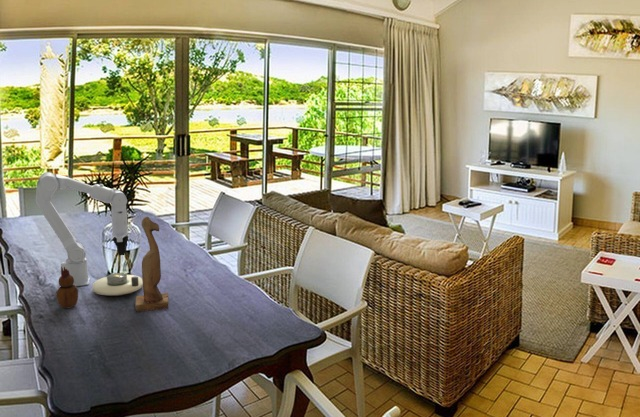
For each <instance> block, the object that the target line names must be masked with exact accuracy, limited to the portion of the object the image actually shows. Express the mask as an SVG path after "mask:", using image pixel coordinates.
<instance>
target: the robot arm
mask: <svg viewBox="0 0 640 417" xmlns="http://www.w3.org/2000/svg"><path fill="white" fill-rule="evenodd" d="M58 188H59V190H60V191H62V190H65V189H71V190H75V191H79V192H82V193H85V194H88V195H90V198H91V199H93V200H96V201H100V202H103V203H106V204H111V205H110V206H111V210H110V213H111V215H110V216H111V227H112V229H111V230H112V233H111V234H112V236H113V237H112V241H113V243H114V244H115V247H116V250H117V254H118V256H125V254H126V247H127V246H126V245H127V244H128V241H129V235H131V234H132V231H130V230H129V229H128V228H129V226H128V211H127V204H128V199H127V196H126V194H125V193H124V192H123V191H121V190H119V189H116V188H110V187H108V186H107V187H106V186H104V184H103V183H99V184H98V183H95V184H93V185H90V184H88V183H85V182H82V181H79V180H77V179H74V178H72V177H69V176H65V175H61V174H59V173H53V172H51V171H50V172H49V171H47V172H44V173H42V174H41V175H40V176H39V178H38V180H37V183H36V192H35V194H36V195H35V203H36V206H37V207H38V209H39V210H40V212H41V214H42V215H43V216H44V218H45V219H46V221H47V222H48V225H50V226H51V229H52V230H53V231H54V233H55V235H56V236H57V238H58V239H59V241H60V242H61V243H62V245H63V247H64V249H65V251H66V253H67V259H66V261H62V262H60V268H61V267H62V268H63V271H64V267H65V269H67V270H69V273H70V275H71V276H73V278H74V283H73V285H75V286H76V287H79V286H82V287H83V286H89V285H90V281H91V277H90V276H89V273H88V261H87V257H86V254H87V253H86V251H85V247H84V245H83V243H82V242H80V241H78V240H77V238H76V237H75V236H74V235H73V233H72V232H71V231H70V229H69V227H68V226H67V224H66V222H65V221H64V220H63V218H62V216H61V215H60V213H59V212H58V211H57V209H56V208H55V206H54V204H53V202H51V201H52V198H53V195H54V194H55V192H56V191H57V190H58Z"/></svg>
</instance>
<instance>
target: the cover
mask: <svg viewBox="0 0 640 417" xmlns="http://www.w3.org/2000/svg"><path fill="white" fill-rule="evenodd" d="M127 275H128V274H127V273H124V272H115V273H110V274H109V275H107V276H106V277H107V284H108V285H110V286H119V285H123V284H126V283H127Z"/></svg>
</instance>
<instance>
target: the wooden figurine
mask: <svg viewBox="0 0 640 417" xmlns="http://www.w3.org/2000/svg"><path fill="white" fill-rule="evenodd" d="M73 283H74V278H73V276H71V275H70V273H69V270H67V269H65V267H64V271H63V268H62V267H61V266H60V277H59V278H58V285H59V287H58V289H57V290H56V300H57V303H58V305H59V306H60V307H61V308H62V309H70V308H72V307H75V306H76V304H77V302H78V299H79V290H78V286H75V285H73Z"/></svg>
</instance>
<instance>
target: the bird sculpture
mask: <svg viewBox="0 0 640 417" xmlns="http://www.w3.org/2000/svg"><path fill="white" fill-rule="evenodd" d="M141 227H142V229H143V231H144V233H145V237H146V238H147V243H148V248H149V250H148V251H147V252H146V253H145V255H144V256H143V257H142V260H141V276H142V277H141V278H142V281H143V286H142V291H143V294H142V295H136V297H135V298H136V299H135V304H134V305H135V311H136V312H135V313H137V312H139V313H140V312H146V311H148V312H149V311H157V310H158V311H160V310H168V309H169V292H166V293H164V292H163V293H161V291H160V289H159V287H158V285H159V283H160V282H161V278H162V271H161V270H162V269H161V256H160V249H159V248H160V247H159V246H158V243H157V240H156V239H155V236H154V234H153V232H154V231H156V232H160V226H159V224H158V223H157V222H154V221H153V220H152V219H151V218H150V217H149V216H145V217H143V219H142V220H141Z"/></svg>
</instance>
